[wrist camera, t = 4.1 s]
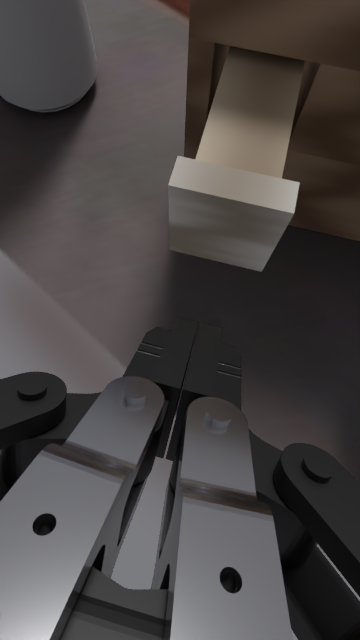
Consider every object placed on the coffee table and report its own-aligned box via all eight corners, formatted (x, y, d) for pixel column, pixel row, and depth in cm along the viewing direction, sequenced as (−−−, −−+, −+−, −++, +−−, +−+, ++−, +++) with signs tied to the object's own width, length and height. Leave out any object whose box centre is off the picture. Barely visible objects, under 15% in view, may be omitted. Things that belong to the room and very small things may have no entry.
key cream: (169, 249, 14) (168, 185, 11) (216, 95, 17) (228, 0, 13) (261, 271, 14) (294, 213, 10) (293, 112, 17) (328, 19, 13)
